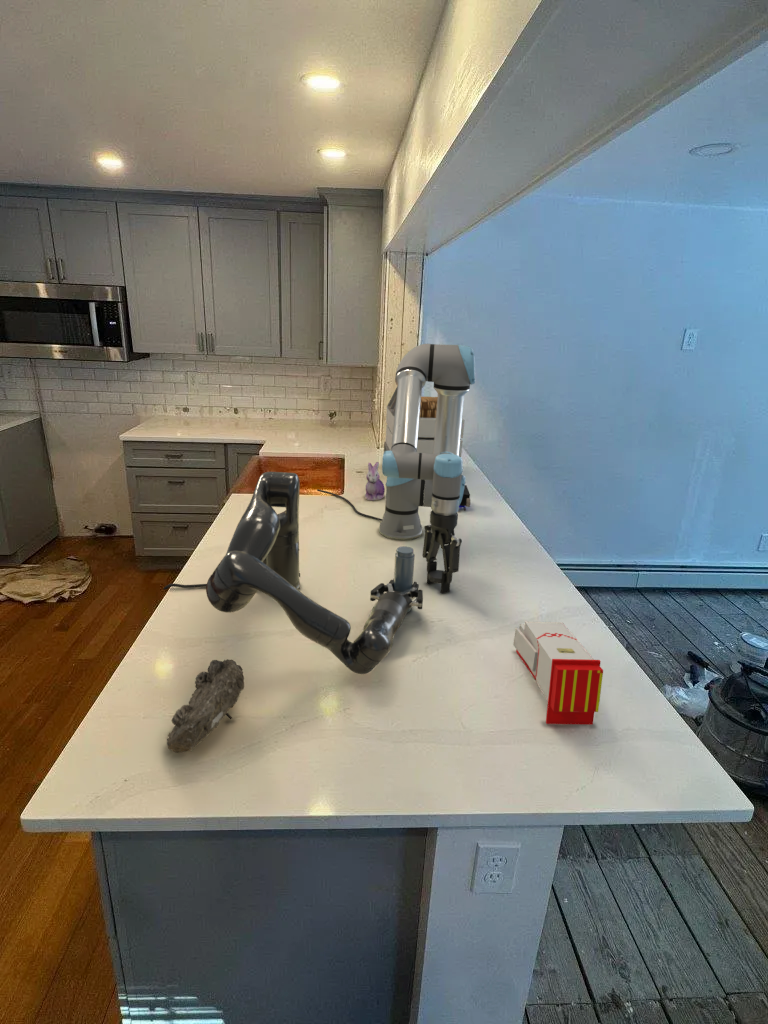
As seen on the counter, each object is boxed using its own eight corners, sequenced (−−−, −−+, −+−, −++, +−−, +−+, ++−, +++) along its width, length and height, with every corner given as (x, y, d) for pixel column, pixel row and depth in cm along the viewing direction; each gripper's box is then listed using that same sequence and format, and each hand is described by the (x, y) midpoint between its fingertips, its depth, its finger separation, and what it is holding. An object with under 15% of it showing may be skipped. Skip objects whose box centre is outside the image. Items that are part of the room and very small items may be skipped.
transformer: (382, 463, 289) (386, 382, 275) (445, 464, 293) (451, 384, 279) (390, 482, 257) (394, 392, 243) (460, 483, 261) (468, 394, 247)
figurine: (369, 502, 230) (370, 466, 225) (359, 494, 239) (360, 460, 234) (390, 499, 234) (391, 464, 229) (378, 492, 243) (380, 458, 238)
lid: (448, 584, 159) (449, 579, 158) (427, 582, 159) (428, 577, 159) (449, 575, 164) (449, 570, 164) (428, 573, 165) (429, 568, 164)
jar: (389, 605, 151) (392, 547, 146) (405, 602, 153) (409, 544, 148) (397, 614, 147) (400, 554, 141) (414, 611, 149) (418, 551, 143)
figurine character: (470, 515, 225) (465, 499, 238) (472, 498, 221) (467, 483, 235) (453, 515, 224) (449, 499, 238) (455, 497, 221) (451, 482, 234)
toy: (559, 606, 135) (612, 666, 105) (553, 658, 137) (604, 731, 108) (508, 605, 134) (547, 665, 105) (504, 658, 137) (541, 730, 108)
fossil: (192, 660, 117) (244, 628, 112) (224, 691, 120) (276, 661, 115) (142, 746, 98) (202, 712, 93) (182, 779, 101) (242, 748, 96)
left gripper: (359, 622, 138) (379, 591, 154) (416, 632, 135) (430, 600, 150) (360, 594, 136) (380, 566, 151) (418, 605, 132) (432, 574, 148)
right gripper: (413, 503, 160) (408, 577, 168) (456, 524, 146) (448, 604, 153) (433, 499, 164) (428, 572, 172) (478, 519, 150) (469, 598, 157)
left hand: (405, 583), depth 151 cm, fingers closed on jar, 5 cm apart
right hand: (437, 587), depth 163 cm, fingers closed on lid, 6 cm apart
